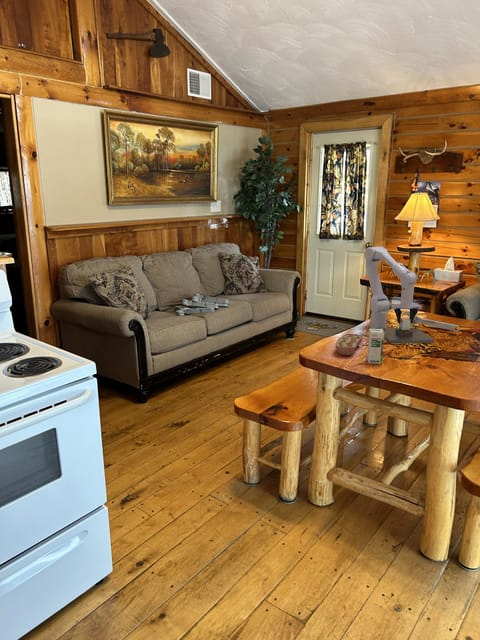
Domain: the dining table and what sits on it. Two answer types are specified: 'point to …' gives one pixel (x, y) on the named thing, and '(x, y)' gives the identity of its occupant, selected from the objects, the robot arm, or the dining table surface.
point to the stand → (406, 335)
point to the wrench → (430, 322)
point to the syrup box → (375, 346)
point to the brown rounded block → (348, 343)
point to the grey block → (404, 324)
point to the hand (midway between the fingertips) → (404, 322)
